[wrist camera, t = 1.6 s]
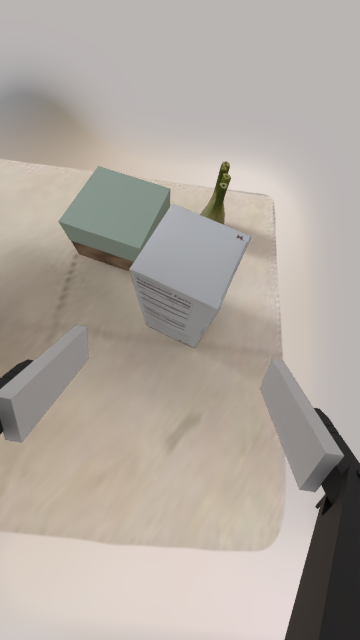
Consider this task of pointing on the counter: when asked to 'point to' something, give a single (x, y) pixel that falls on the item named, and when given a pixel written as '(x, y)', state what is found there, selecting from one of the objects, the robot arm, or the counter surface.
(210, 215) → the fennel bulb
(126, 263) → the tower base
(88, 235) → the tower top
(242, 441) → the counter surface
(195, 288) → the supplement box
